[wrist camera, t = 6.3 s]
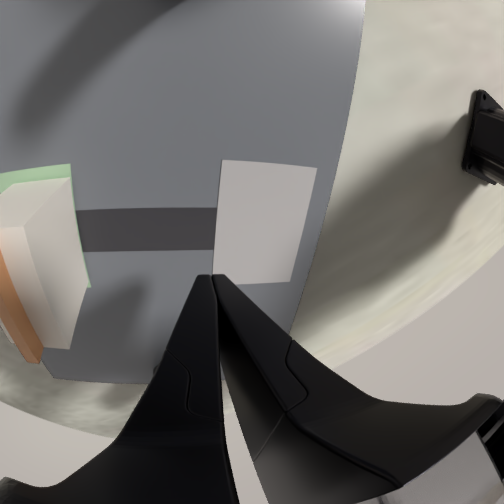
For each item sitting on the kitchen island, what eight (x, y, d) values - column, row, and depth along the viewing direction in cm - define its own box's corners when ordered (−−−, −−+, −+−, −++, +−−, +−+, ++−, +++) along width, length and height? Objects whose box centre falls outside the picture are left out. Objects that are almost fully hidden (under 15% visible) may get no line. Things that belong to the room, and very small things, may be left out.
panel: (352, -4, 8) (367, -9, 7) (270, 360, 20) (274, 373, 19) (-4, 2, 3) (-17, -1, 2) (56, 365, 16) (53, 378, 15)
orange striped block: (70, 177, 8) (10, 242, 5) (88, 281, 11) (66, 366, 7) (12, 183, 8) (-53, 245, 4) (37, 280, 10) (5, 358, 6)
